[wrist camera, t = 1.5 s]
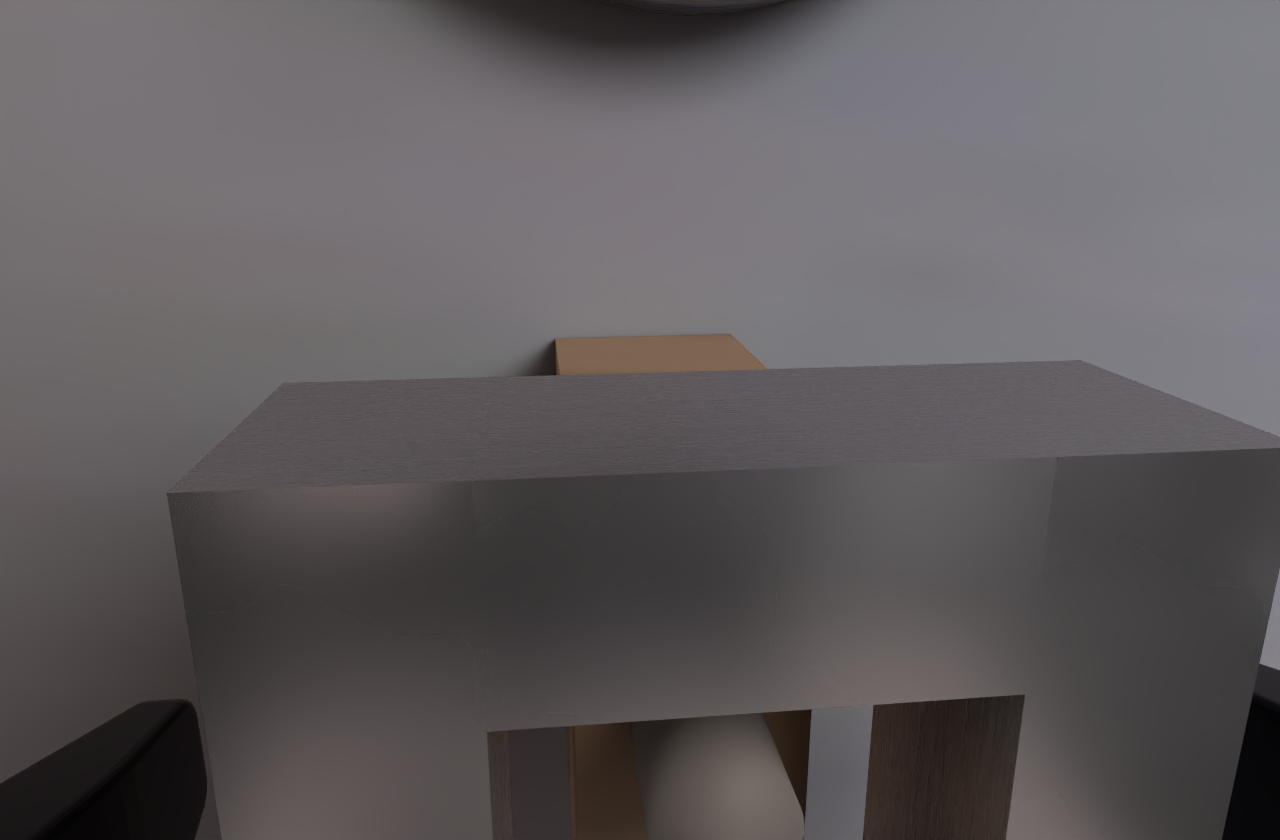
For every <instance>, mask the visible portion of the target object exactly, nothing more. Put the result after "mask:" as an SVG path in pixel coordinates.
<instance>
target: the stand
mask: <svg viewBox="0 0 1280 840" xmlns="http://www.w3.org/2000/svg"><path fill="white" fill-rule="evenodd" d="M555 345H556V375H585V374H620V373H655V372H690V371H725V370H760V369H767V368H766V367H765V366H764V365H763V364H762V363H761V362H760V361H759V360H758V359H757V358H755V357H754V356H753V355H752V354H751V353H750V352H749V351H748V350H747V349H746V348H745V347H744V346H743V345H741V344H740V343H739V342H738V341H737V340H736V339H735V338H734V337H733V336H732V335H731V334H718V335H677V336H636V337H595V338H555ZM810 725H811V709H808V710H793V711H779V712H765V713H750V714H736V715H721V716H707V717H693V718H678V719H664V720H650V721H635V722H621V723H606V724H592V725H578V726H566V729H567V746H568V762H569V779H570V795H571V812H572V828H573V840H804V831H805V811H806V794H807V777H808V759H809V742H810Z"/></svg>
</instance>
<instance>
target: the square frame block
mask: <svg viewBox="0 0 1280 840" xmlns="http://www.w3.org/2000/svg"><path fill="white" fill-rule="evenodd" d="M167 496H168V503H169V509H170V515H171V522H172V528H173V534H174V541H175V547H176V553H177V560H178V566H179V572H180V579H181V585H182V591H183V598H184V604H185V610H186V617H187V623H188V629H189V636H190V642H191V648H192V655H193V661H194V667H195V674H196V680H197V686H198V693H199V699H200V705H201V712H202V718H203V724H204V731H205V737H206V743H207V750H208V756H209V762H210V769H211V775H212V781H213V788H214V794H215V800H216V807H217V813H218V819H219V826H220V832H221V839H222V840H514V839H513V819H512V798H511V778H510V758H509V738H508V730H520V729H535V728H549V727H563V726H578V725H592V724H606V723H621V722H635V721H650V720H664V719H678V718H693V717H707V716H721V715H736V714H750V713H765V712H779V711H793V710H808V709H822V708H836V707H851V706H865V705H874V707H873V719H872V732H871V744H870V757H869V769H868V782H867V794H866V807H865V819H864V832H863V840H1222V836H1223V831H1224V826H1225V822H1226V817H1227V812H1228V808H1229V803H1230V798H1231V794H1232V789H1233V784H1234V780H1235V775H1236V770H1237V765H1238V761H1239V756H1240V751H1241V747H1242V742H1243V737H1244V733H1245V728H1246V723H1247V719H1248V714H1249V709H1250V705H1251V700H1252V695H1253V690H1254V686H1255V681H1256V676H1257V672H1258V667H1259V662H1260V658H1261V653H1262V648H1263V644H1264V639H1265V634H1266V630H1267V625H1268V620H1269V615H1270V611H1271V606H1272V601H1273V597H1274V592H1275V587H1276V583H1277V578H1278V573H1279V569H1280V437H1279V436H1276V435H1273V434H1271V433H1268V432H1266V431H1263V430H1260V429H1258V428H1255V427H1253V426H1250V425H1247V424H1245V423H1242V422H1240V421H1237V420H1234V419H1232V418H1229V417H1227V416H1224V415H1221V414H1219V413H1216V412H1214V411H1211V410H1208V409H1206V408H1203V407H1201V406H1198V405H1195V404H1193V403H1190V402H1188V401H1185V400H1182V399H1180V398H1177V397H1175V396H1172V395H1169V394H1167V393H1164V392H1162V391H1159V390H1157V389H1154V388H1151V387H1149V386H1146V385H1144V384H1141V383H1138V382H1136V381H1133V380H1131V379H1128V378H1125V377H1123V376H1120V375H1118V374H1115V373H1112V372H1110V371H1107V370H1105V369H1102V368H1099V367H1097V366H1094V365H1092V364H1089V363H1086V362H1084V361H1081V360H1074V361H1039V362H1004V363H969V364H934V365H899V366H864V367H830V368H795V369H760V370H725V371H690V372H655V373H620V374H585V375H550V376H515V377H480V378H445V379H410V380H375V381H340V382H305V383H283V384H282V385H281V386H280V387H279V388H277V389H276V390H275V391H274V392H273V393H272V394H271V395H270V396H269V397H268V398H267V399H266V400H265V401H264V402H263V403H262V404H261V405H260V406H258V407H257V408H256V409H255V410H254V411H253V412H252V413H251V414H250V415H249V416H248V417H247V418H246V419H245V420H244V421H243V422H242V423H240V424H239V425H238V426H237V427H236V428H235V429H234V430H233V431H232V432H231V433H230V434H229V435H228V436H227V437H226V438H225V439H224V440H222V441H221V442H220V443H219V444H218V445H217V446H216V447H215V448H214V449H213V450H212V451H211V452H210V453H209V454H208V455H207V456H206V457H205V458H203V459H202V460H201V461H200V462H199V463H198V464H197V465H196V466H195V467H194V468H193V469H192V470H191V471H190V472H189V473H188V474H187V475H185V476H184V477H183V478H182V479H181V480H180V481H179V482H178V483H177V484H176V485H175V486H174V487H173V488H172V489H171V490H170V491H169V492H167Z"/></svg>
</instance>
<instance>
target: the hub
mask: <svg viewBox="0 0 1280 840" xmlns="http://www.w3.org/2000/svg"><path fill="white" fill-rule="evenodd" d="M594 1H597V2H602V3H606V4H610V5H615V6H619V7H623V8H628V9H632V10H636V11H641V12H651V13H663V14H674V15H686V16H689V15H706V14H723V13H734V12H739V11H744V10H749V9H754V8H759V7H764V6H769V5H773V4H777V3H780V2H783V1H786V0H594Z"/></svg>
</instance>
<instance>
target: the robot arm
mask: <svg viewBox="0 0 1280 840" xmlns="http://www.w3.org/2000/svg"><path fill="white" fill-rule="evenodd" d="M206 795H207V775H206V768H205V762H204V756H203V749H202V743H201V737H200V730H199V724H198V718H197V713H196V711H195V708H194V706H193V704H192V703H191V702H189V701H188V700H185V699H174V700H158V701H146V702H142V703H139V704H137V705H135V706H134V707H132V708H130V709H128V710H127V711H125V712H123V713H121V714H120V715H118V716H116V717H114V718H113V719H111V720H109V721H108V722H106V723H104V724H102V725H101V726H99V727H97V728H95V729H94V730H92V731H90V732H89V733H87V734H85V735H83V736H82V737H80V738H78V739H76V740H75V741H73V742H71V743H69V744H68V745H66V746H64V747H63V748H61V749H59V750H57V751H56V752H54V753H52V754H50V755H49V756H47V757H45V758H44V759H42V760H40V761H38V762H37V763H35V764H33V765H31V766H30V767H28V768H26V769H25V770H23V771H21V772H19V773H18V774H16V775H14V776H12V777H11V778H9V779H7V780H5V781H4V782H2V783H0V840H195V837H196V833H197V830H198V826H199V823H200V820H201V816H202V813H203V809H204V806H205V801H206ZM1222 840H1280V670H1277V669H1274V668H1271V667H1268V666H1265V665H1262V664H1259V667H1258V672H1257V676H1256V681H1255V686H1254V690H1253V695H1252V700H1251V705H1250V709H1249V714H1248V719H1247V723H1246V728H1245V733H1244V737H1243V742H1242V747H1241V751H1240V756H1239V761H1238V765H1237V770H1236V775H1235V780H1234V784H1233V789H1232V794H1231V798H1230V803H1229V808H1228V812H1227V817H1226V822H1225V826H1224V831H1223V836H1222Z"/></svg>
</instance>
